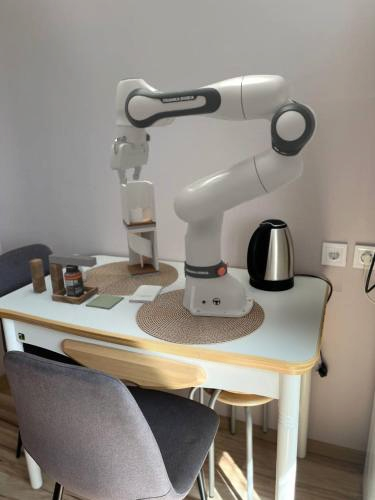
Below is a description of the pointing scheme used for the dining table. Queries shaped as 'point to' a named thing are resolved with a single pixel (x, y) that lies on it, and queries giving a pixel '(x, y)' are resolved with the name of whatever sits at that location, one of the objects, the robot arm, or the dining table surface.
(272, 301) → the dining table surface
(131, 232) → the candle lantern
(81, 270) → the flask
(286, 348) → the dining table surface
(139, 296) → the external hard drive
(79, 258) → the grey rectangular bar
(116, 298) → the mat
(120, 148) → the robot arm
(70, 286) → the supplement bottle
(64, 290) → the holder
